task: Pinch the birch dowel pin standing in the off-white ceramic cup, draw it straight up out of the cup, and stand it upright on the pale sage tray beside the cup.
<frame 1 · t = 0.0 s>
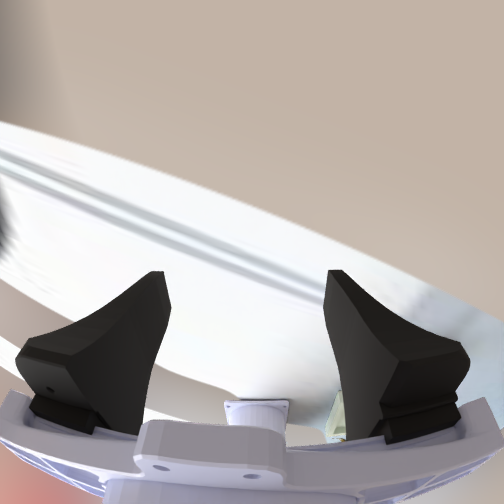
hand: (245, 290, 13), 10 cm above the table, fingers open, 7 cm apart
tray: (368, 406, 34), on the table
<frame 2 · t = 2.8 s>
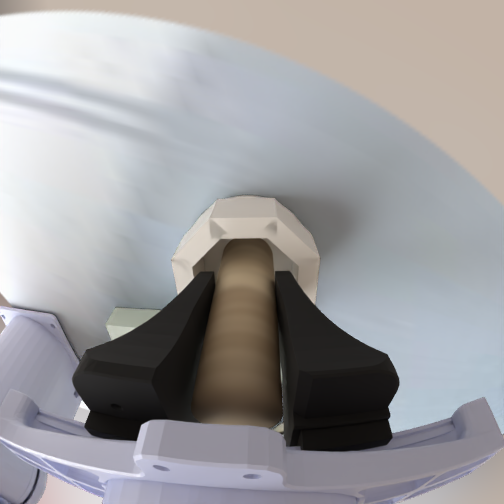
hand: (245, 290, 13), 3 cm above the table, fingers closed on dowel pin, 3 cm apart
pin cup: (248, 253, 16), on the table
dowel pin: (247, 257, 15), resting on pin cup, touching gripper
tray: (203, 363, 20), on the table
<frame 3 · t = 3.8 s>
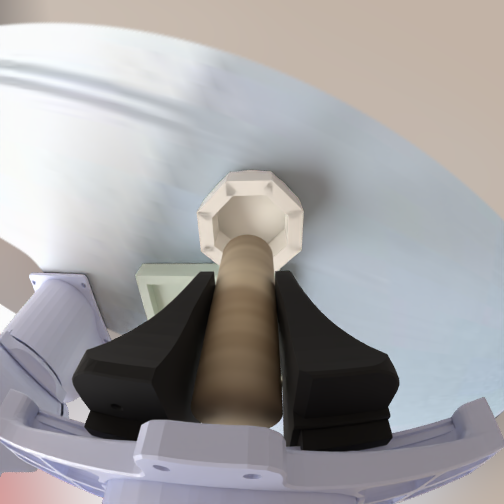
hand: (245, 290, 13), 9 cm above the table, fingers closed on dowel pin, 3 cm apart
pin cup: (251, 213, 21), on the table
dowel pin: (247, 257, 15), point 6 cm above the table, touching gripper
tray: (213, 313, 25), on the table
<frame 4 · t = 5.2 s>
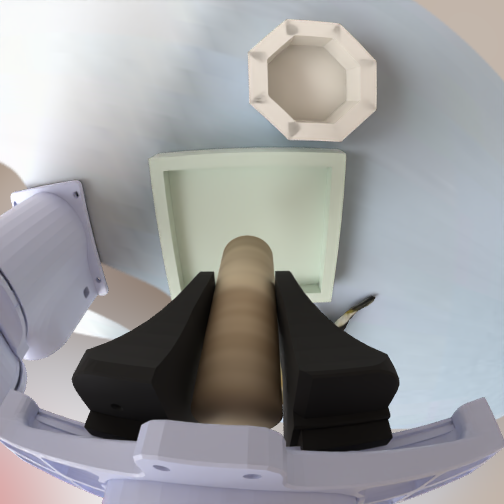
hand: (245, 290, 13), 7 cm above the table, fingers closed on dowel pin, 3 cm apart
pin cup: (305, 83, 15), on the table
dowel pin: (247, 258, 15), point 4 cm above the table, touching gripper
tray: (249, 224, 19), on the table
decorative bird model: (302, 330, 24), on the table
when the fingers open (5 cm above the table, at t = 6.3 s): dowel pin stays where it is, resting on tray.
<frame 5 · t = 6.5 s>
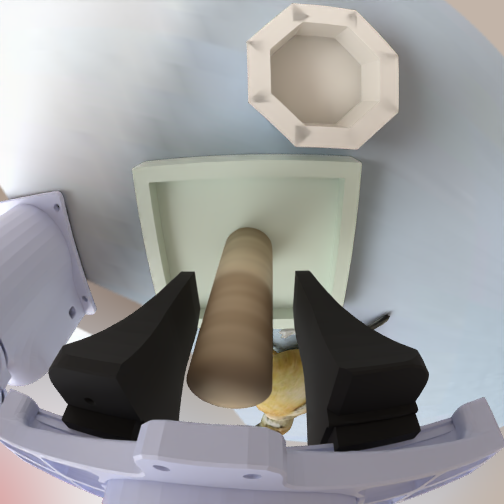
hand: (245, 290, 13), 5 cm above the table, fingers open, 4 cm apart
pin cup: (314, 79, 13), on the table
dowel pin: (248, 249, 16), point 1 cm above the table, touching tray
tray: (248, 242, 17), on the table
decorative bird model: (311, 351, 22), on the table, touching tray
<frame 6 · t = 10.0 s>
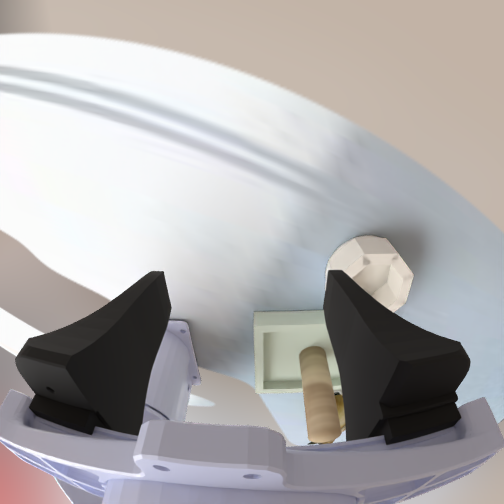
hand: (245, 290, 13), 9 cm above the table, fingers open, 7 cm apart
pin cup: (362, 270, 23), on the table
dowel pin: (312, 355, 27), point 1 cm above the table, touching tray
tray: (311, 349, 27), on the table
decorative bird model: (345, 393, 32), on the table
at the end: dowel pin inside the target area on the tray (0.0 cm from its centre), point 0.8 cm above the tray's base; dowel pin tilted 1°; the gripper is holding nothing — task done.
